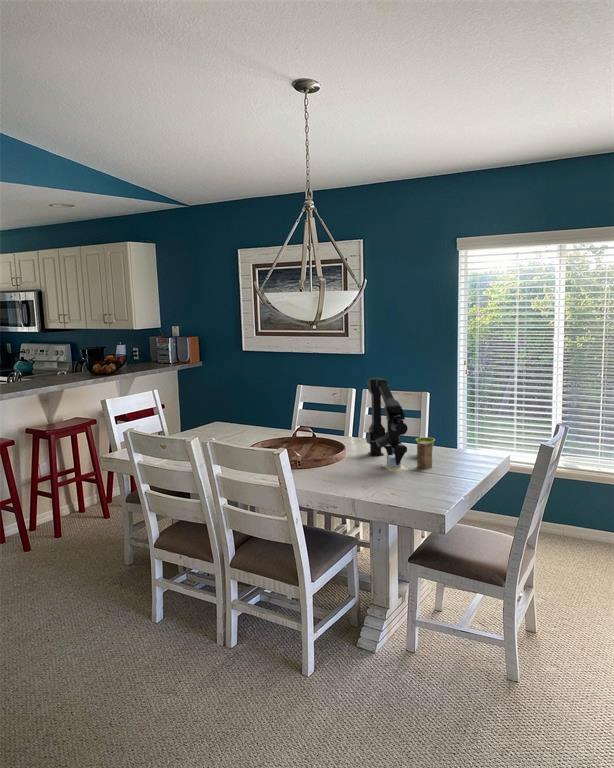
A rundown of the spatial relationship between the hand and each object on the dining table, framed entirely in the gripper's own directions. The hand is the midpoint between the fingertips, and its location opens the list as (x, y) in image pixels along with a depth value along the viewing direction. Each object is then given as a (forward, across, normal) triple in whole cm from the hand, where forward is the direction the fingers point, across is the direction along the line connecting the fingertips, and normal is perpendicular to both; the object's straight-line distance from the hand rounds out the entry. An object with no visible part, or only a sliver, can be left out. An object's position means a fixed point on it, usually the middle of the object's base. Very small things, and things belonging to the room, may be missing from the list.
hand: (393, 462), depth 279 cm
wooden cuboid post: (+2, +6, +13) cm, 14 cm away
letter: (+2, +1, 0) cm, 2 cm away
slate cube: (+2, 0, 0) cm, 2 cm away
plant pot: (+2, -13, +22) cm, 26 cm away
